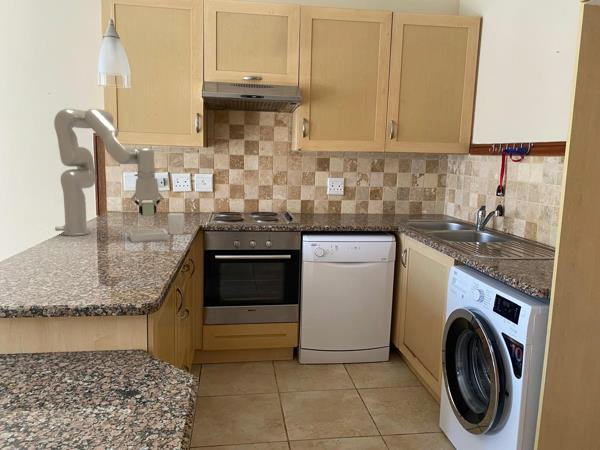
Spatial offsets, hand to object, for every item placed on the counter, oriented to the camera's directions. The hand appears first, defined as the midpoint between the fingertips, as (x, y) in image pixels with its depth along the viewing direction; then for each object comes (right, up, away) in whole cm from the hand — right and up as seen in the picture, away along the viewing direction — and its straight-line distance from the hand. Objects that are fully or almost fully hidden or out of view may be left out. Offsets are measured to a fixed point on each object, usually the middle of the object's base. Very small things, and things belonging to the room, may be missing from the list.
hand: (147, 214), depth 226 cm
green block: (0, -1, 0) cm, 1 cm away
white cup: (+9, -10, +18) cm, 22 cm away
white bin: (0, -12, +2) cm, 12 cm away
